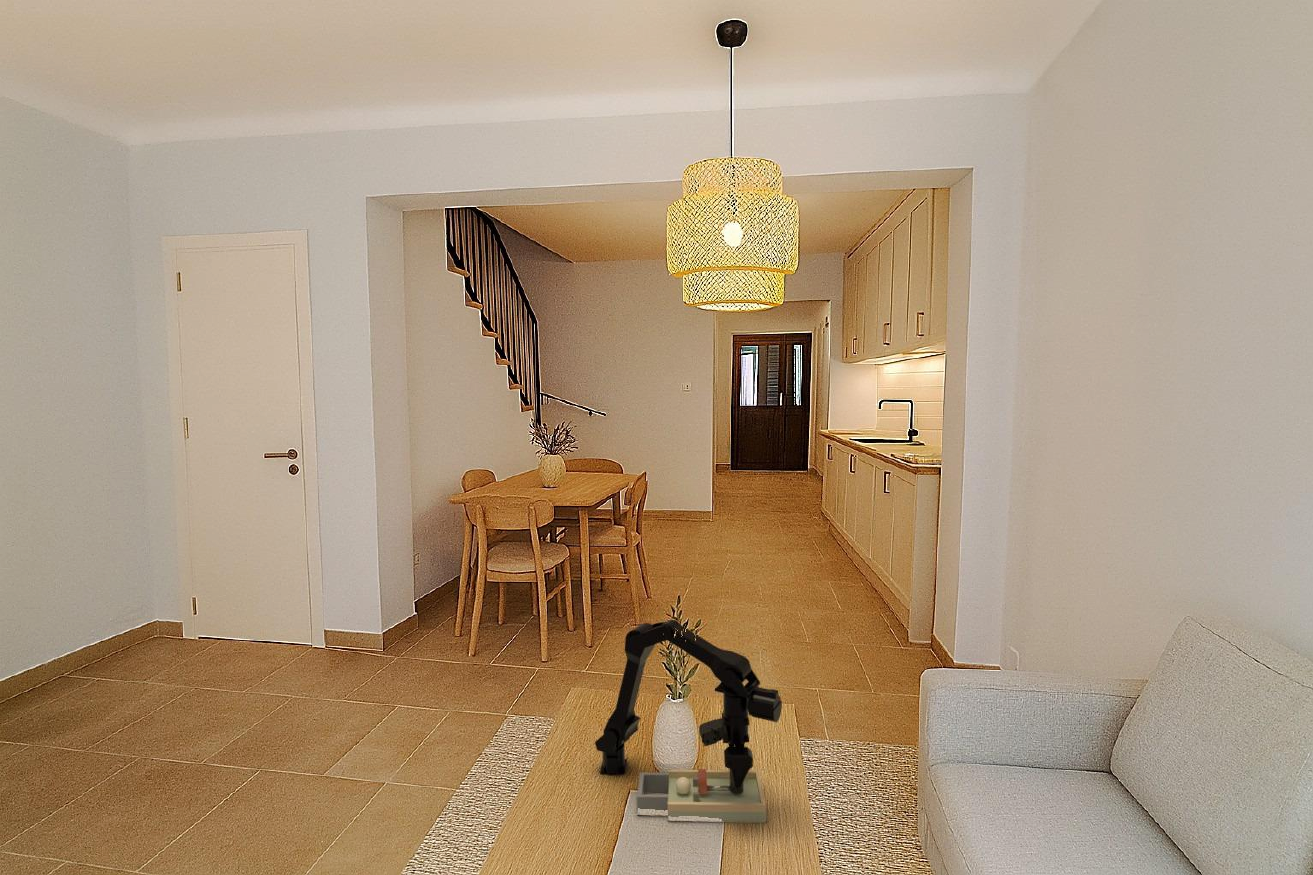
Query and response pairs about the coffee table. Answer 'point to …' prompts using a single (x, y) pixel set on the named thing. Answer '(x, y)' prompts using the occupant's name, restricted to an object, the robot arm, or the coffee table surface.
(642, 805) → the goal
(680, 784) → the ball
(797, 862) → the coffee table surface
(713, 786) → the kicker
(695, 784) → the tray
